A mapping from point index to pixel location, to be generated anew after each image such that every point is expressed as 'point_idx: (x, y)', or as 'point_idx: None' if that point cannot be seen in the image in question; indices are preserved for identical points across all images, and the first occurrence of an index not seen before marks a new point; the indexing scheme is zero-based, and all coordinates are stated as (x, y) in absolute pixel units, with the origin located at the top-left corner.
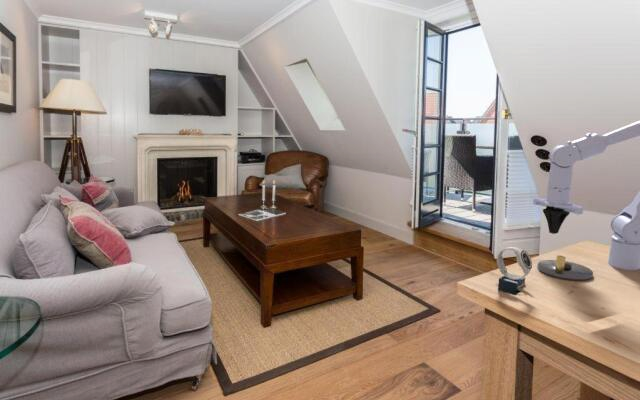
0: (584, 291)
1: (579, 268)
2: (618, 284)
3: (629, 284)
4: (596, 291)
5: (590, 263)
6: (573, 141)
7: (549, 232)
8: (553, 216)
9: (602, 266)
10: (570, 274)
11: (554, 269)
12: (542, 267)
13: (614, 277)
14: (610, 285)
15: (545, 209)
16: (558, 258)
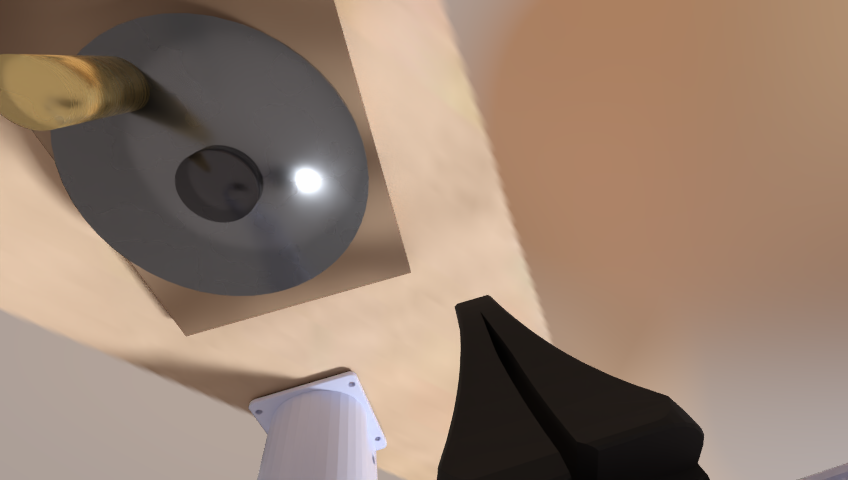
0: (14, 134)
1: (225, 253)
2: (162, 333)
3: (169, 366)
4: (35, 196)
5: (401, 364)
6: None
7: (487, 296)
8: (494, 420)
9: (365, 382)
10: (100, 140)
11: (190, 98)
12: (227, 39)
13: (246, 360)
14: (143, 299)
15: (671, 448)
16: (4, 54)
